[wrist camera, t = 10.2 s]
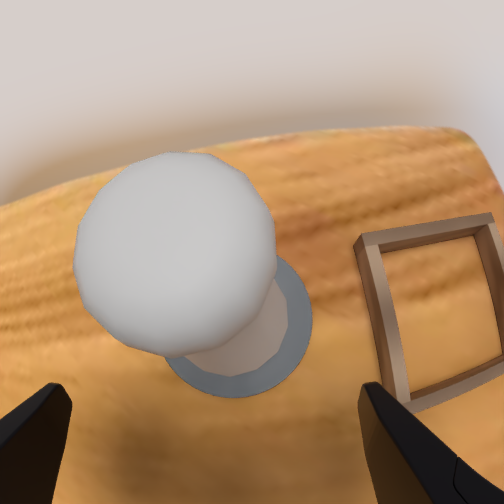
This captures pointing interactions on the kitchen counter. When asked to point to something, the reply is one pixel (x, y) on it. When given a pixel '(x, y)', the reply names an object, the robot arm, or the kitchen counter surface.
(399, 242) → the square wooden frame
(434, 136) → the kitchen counter surface
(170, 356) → the salt shaker
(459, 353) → the kitchen counter surface
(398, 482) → the robot arm
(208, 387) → the coaster
